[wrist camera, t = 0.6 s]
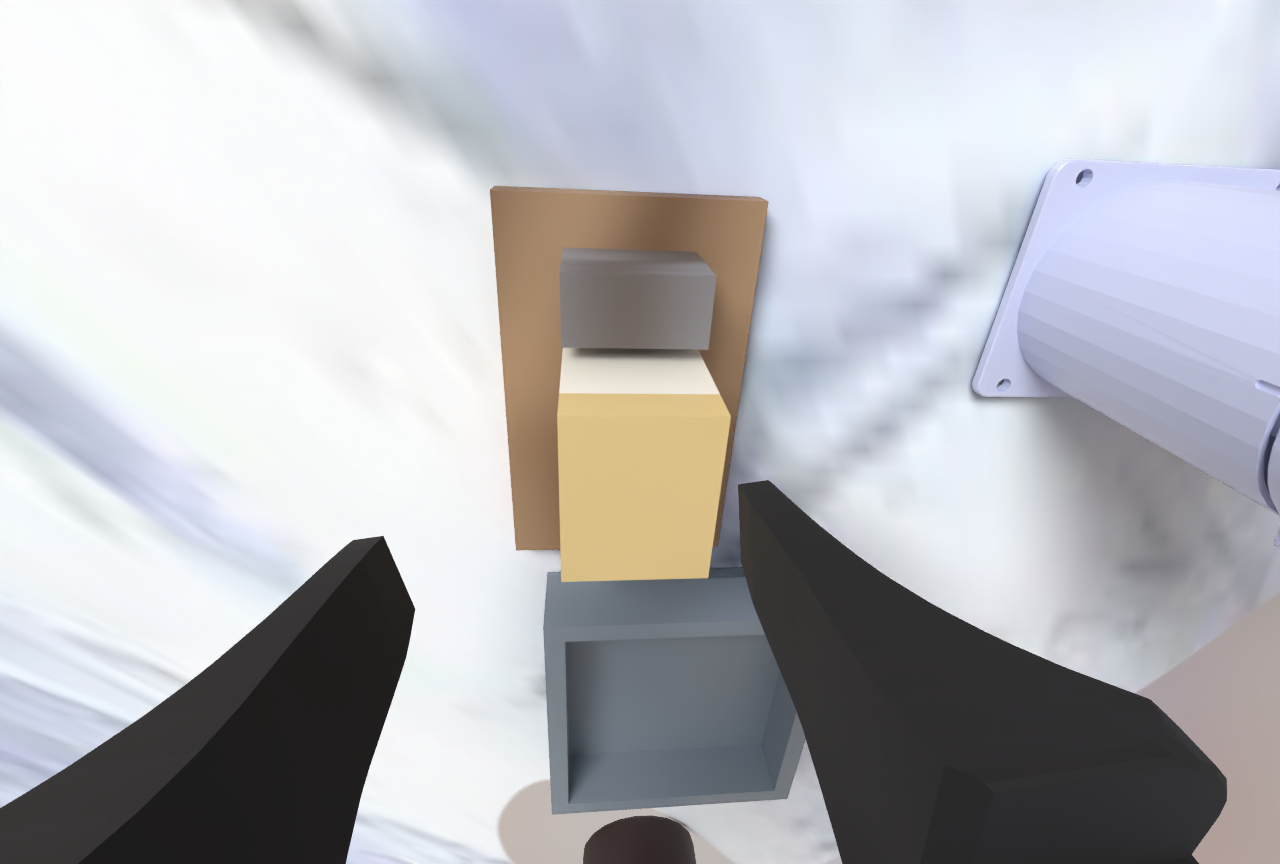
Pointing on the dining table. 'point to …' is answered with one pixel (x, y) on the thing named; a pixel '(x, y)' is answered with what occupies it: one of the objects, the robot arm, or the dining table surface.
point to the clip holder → (612, 307)
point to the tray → (663, 695)
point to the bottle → (640, 842)
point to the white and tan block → (638, 463)
